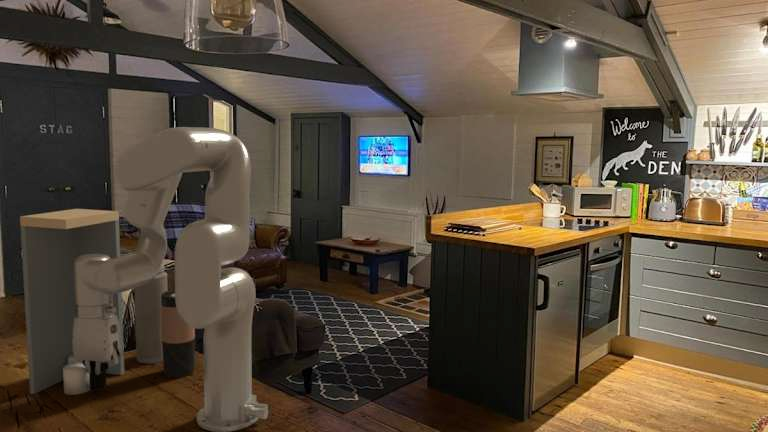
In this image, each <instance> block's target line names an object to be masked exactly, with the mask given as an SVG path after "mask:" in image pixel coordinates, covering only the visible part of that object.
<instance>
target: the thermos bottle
mask: <svg viewBox="0 0 768 432" xmlns="http://www.w3.org/2000/svg"><path fill="white" fill-rule="evenodd" d="M165 269H166V268H165V265H164V264H163V263H162V265H161V267H160V270H159V272H158V273H157V275H156V276H155V278H154V279H153V280H152V281H151V282H149V283H148V284H145V285H143V286H139V287H136V288H133V289H134V290H133V291H134V315H135V319H134V320H135V344H136V345H135V346H136V349H135V351H136V361H137V362H138V363H141V364H156V363H163V348H162V307H161V295H162V293H164V292H166V291H168V290H169V289H168V273H167V272H165Z"/></svg>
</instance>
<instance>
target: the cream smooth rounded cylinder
mask: <svg viewBox="0 0 768 432" xmlns="http://www.w3.org/2000/svg"><path fill="white" fill-rule="evenodd" d="M62 381H63V393H64V394H65V395H71V396H73V395H80V394H85V393H87V392H89V391H90V377H89V373H87V371H86V367H85V366H84V365H83V364H82V363H79V362H75V363H71V364H68V365H66V366H64V367H63V380H62Z"/></svg>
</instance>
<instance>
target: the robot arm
mask: <svg viewBox="0 0 768 432" xmlns="http://www.w3.org/2000/svg"><path fill="white" fill-rule="evenodd" d="M205 171H209V172H211V178H210V179H209V181H208V183H207V186H206V190H205V199H204V202H205V207H204V208H205V210H204V212H205V213H204V217H203V219H200V220H196V221H193V222H191V223H189V224H186V225H185V227H183V228H182V230H181V231H180V233H179V234H178V235H177V239H176V242H175V247H174V292H175V302H176V308H177V311H178V314H179V316H180V318H181V319H182V321H183V322H184V323H185V324H187V325H188V326H190V327H192V328H195V329H198V330H199V329H204V331H203V341H202V342H203V347H202V348H203V389H204V390H203V391H204V392H203V394H204V396H203V399H204V406H203V408H201V409H200V410H199V411H198V412H197V414H196V423H197V425H198V426H199V427H200V428H202V429H203V430H207V431H210V432H236V431H240V430H242V429H246V428H248V427H250V426H252V425H253V424H255V423H256V422H257V421H258V420H259V419H262V420H263V419H264V420H266V419H267V418H268V416H269V406H268V404H265V403H259V402H258V401H257V395H256V394H253V393H252V391H253V388H252V387H253V384H252V383H253V381H252V379H253V378H252V374H253V372H252V369H253V368H252V342H253V341H252V337H253V336H252V330H253V329H252V328H253V326H252V325H253V316H254V315H253V314H254V310H255V305H256V304H255V303H256V295H257V294H256V286H255V282H254V279H253V278H252V277H251V275H250V274H249V272H247V271H246V270H244V269H242V268H239V267H224V268H222V267H223V266H226V265H230V264H233V263H234V262H237V261H239V260H241V259H242V258H243V257H245V256H246V255H247V253H248V251H249V248H250V231H251V230H250V224H251V223H250V219H251V218H250V216H251V215H250V214H251V213H250V209H251V206H250V189H251V176H252V174H251V173H252V163H251V157H250V153H249V151H248V149H247V147H246V145H245V144H244V142H242V141H241V139H240V138H238V137H237V136H236V135H235V134H234V133H233V134H232V132H229V131H227V130H225V129H224V130H223V129H221V128H216V127H214V128H213V127H202V126H201V127H199V126H198V127H194V126H192V127H191V126H177V127H176V126H175V127H170V128H167V129H164V130H161V131H160V132H158V133H156V134H153V135H152V136H149V137H148V138H144V139H142V140H141V141H139V142H137V143H135V144H132V145H130V146H129V147H127V148H126V149H124V150H123V151H122V152H121V153H120V154H119V155H118V156H117V158H116V161H115V163H114V167H113V176H114V180H115V181H116V184H117V185H118V186H119V187H120V188H121V189H123V190H125V191H128V193H127V195H126V196H127V197H126V198H125V201H124V203H123V207H122V209H121V215H122V217H123V219H124V220H125V222H127V223H129V224H130V225H132V226H133V227H136V228H138V229H140V237H139V240H138V241H137V242H138V243H137V245H136V248H135V250H134V252H133V253H129V254H125V255H122V256H121V255H120V257H117V258H112V259H110V257H109V256H108V255H105V254H86V255H82V256H79V257H77V258H76V259H75V261H74V283H75V305H76V316H75V317H74V323H73V332H72V349H73V355H74V357H76V358H75V360H76V361H77V362H79V363H82V364H83V365H84V366H85V367H86V371H87V373H89V377H90V390H89V391H91V392H98V391H100V390H103V389H105V388H106V387H107V373H106V371H107V370H108V368H109V367H115V366H117V365H118V364H119V361H118V357H119V356H121V355H122V352H123V348H124V347H123V348H122V337H121V330H120V325H119V321H118V318H117V315H114V313H115V312H116V307H113V294H118V293H121V292H122V293H125V292H127V291H129V290H133V289H134V288H136V287H139V286H143V285H145V284H148V283H149V282H151V281H152V280H153V279H154V278H155V276H156V275H157V273H158V272H159V270H160V267H161V265H162V264H163V262H164V260H165V257H166V254H167V252H168V251H167V250H168V240H167V239H168V238H167V233H166V229H165V227H164V226H165V225H164V223H165V219H166V218H167V217H166V216H167V214H168V213H169V209H170V206H171V204H172V202H173V199H174V197H175V194H176V192H177V189H178V186H179V183H180V181H181V179H182V175H183V173H193V172H194V173H195V172H205ZM102 363H103V364H102Z"/></svg>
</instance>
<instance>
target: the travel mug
mask: <svg viewBox="0 0 768 432" xmlns="http://www.w3.org/2000/svg"><path fill="white" fill-rule="evenodd" d="M161 307H162V348H163V361H162V363H163V373H164V376H166V377H168V378H184V377H187V376H190V375H193V373H195V366H196V365H195V363H196V362H195V361H196V360H195V357H196V356H195V354H196V331H195V330H196V328H192V327H190V326H188V325H187V324H185V323H184V322H183V321H182V319H181V318H180V316H179V314H178V311H177V308H176V302H175V291H174V292H171V291H166V292H164V293H162V295H161Z"/></svg>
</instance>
